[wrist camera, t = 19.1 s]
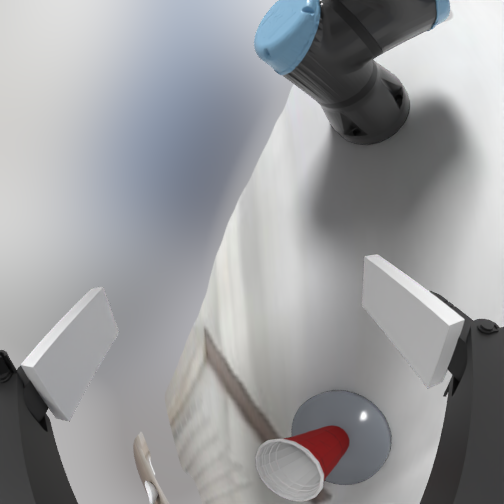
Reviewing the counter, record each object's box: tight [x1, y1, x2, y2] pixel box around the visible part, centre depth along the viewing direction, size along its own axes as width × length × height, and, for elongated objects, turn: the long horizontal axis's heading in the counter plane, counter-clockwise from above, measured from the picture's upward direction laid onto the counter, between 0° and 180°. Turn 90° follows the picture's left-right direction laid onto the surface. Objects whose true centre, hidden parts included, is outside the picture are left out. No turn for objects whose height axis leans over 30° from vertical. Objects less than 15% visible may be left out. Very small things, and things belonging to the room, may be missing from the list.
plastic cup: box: [255, 425, 350, 501], centre depth 29 cm, size 11×11×12 cm
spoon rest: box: [145, 481, 158, 504], centre depth 80 cm, size 24×12×7 cm, turn 55°
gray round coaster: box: [292, 390, 391, 485], centre depth 33 cm, size 18×18×2 cm
